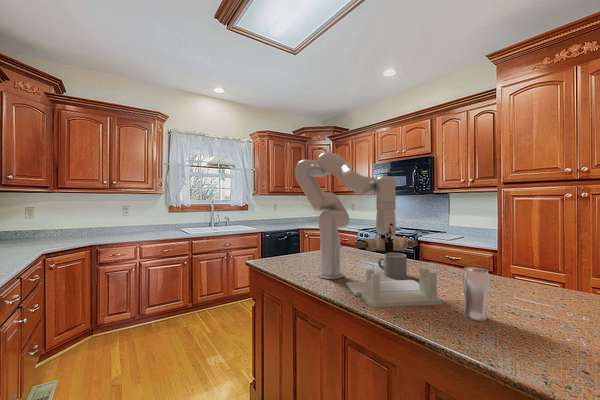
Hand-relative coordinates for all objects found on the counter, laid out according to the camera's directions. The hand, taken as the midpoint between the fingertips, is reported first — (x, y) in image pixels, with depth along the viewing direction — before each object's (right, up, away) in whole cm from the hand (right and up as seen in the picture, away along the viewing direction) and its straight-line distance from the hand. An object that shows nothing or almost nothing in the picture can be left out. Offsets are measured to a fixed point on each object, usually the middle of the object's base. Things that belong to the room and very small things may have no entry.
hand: (386, 250), depth 114 cm
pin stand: (+1, -16, -13) cm, 20 cm away
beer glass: (+20, -16, -27) cm, 37 cm away
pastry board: (0, -16, 0) cm, 16 cm away
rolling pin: (0, 0, +1) cm, 1 cm away
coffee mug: (+9, -16, +20) cm, 27 cm away
